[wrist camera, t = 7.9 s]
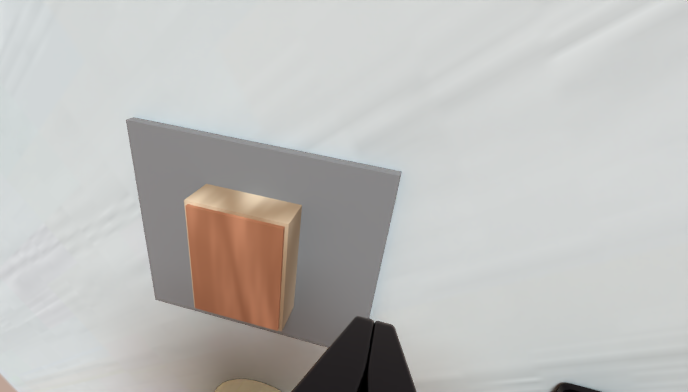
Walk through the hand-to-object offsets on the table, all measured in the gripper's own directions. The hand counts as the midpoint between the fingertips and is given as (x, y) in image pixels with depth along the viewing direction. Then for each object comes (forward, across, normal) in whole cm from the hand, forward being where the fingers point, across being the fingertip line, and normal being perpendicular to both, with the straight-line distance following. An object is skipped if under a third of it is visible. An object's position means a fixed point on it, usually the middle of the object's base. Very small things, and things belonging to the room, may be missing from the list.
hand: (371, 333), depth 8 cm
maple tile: (+10, +5, +8) cm, 14 cm away
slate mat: (+12, +8, +8) cm, 16 cm away
